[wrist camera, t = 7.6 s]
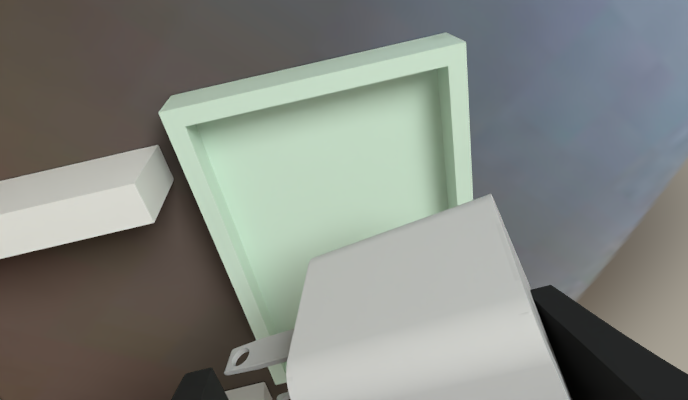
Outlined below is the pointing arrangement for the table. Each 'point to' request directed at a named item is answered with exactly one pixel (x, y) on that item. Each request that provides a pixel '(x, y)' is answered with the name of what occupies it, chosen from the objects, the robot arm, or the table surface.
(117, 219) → the bay
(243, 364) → the usb wall charger
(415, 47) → the tray
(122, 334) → the table surface
